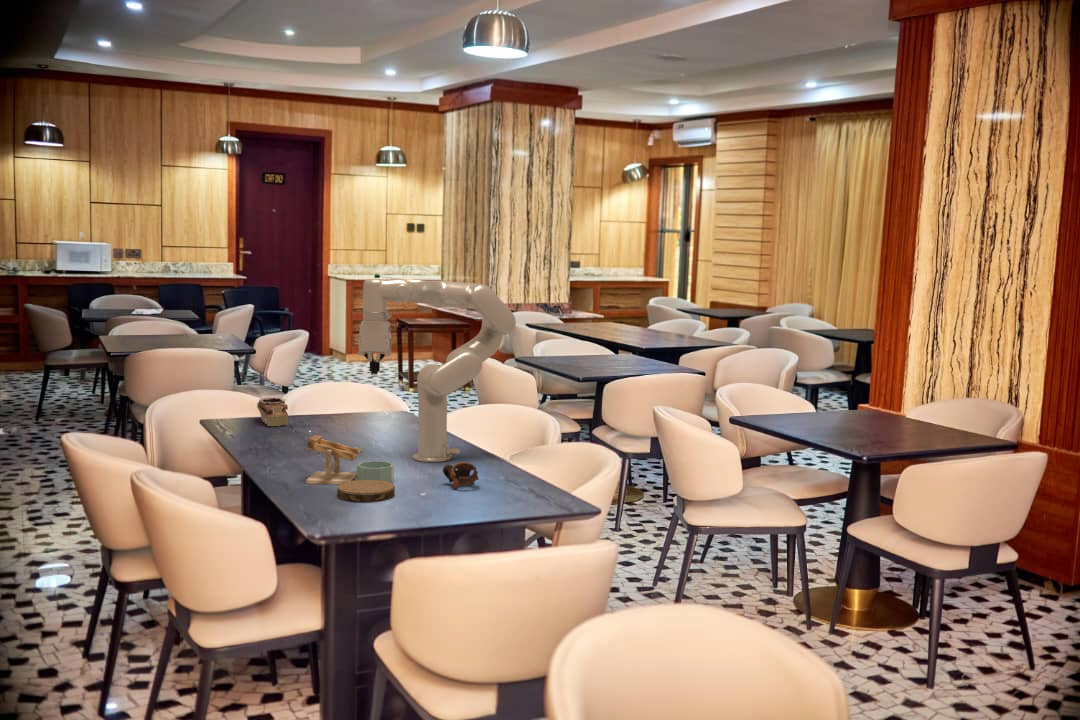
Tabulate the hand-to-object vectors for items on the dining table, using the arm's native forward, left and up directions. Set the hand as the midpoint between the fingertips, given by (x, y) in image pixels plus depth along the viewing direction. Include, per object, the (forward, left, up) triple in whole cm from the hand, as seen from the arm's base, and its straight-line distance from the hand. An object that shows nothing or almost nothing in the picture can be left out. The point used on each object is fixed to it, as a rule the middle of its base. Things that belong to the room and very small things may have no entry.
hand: (374, 373), depth 325 cm
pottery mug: (-32, +30, -29) cm, 53 cm away
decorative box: (+55, -64, -29) cm, 90 cm away
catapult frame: (+7, +27, -29) cm, 40 cm away
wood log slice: (-7, +45, -30) cm, 54 cm away
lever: (+7, +23, -21) cm, 32 cm away
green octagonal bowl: (-6, +27, -29) cm, 40 cm away
